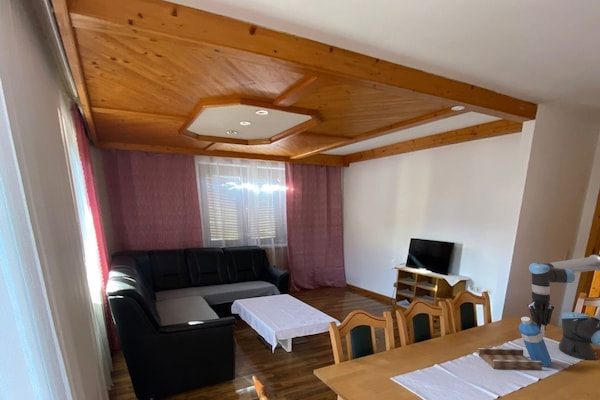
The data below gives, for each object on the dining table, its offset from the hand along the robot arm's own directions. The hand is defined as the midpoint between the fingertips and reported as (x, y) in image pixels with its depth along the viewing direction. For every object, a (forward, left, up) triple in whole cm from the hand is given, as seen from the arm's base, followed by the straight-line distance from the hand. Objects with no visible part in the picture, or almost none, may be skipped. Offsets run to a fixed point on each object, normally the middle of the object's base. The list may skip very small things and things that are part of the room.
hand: (541, 336), depth 151 cm
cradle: (+18, 0, -15) cm, 23 cm away
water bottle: (0, 0, -13) cm, 13 cm away
